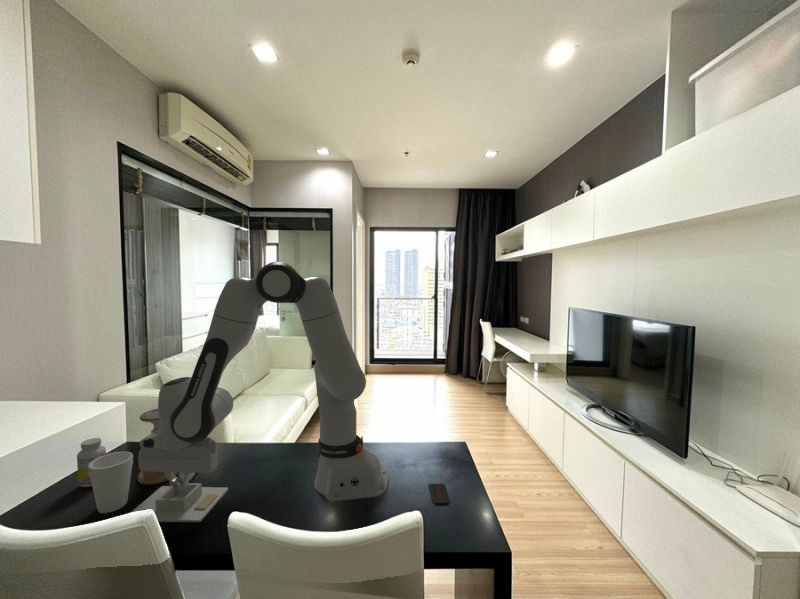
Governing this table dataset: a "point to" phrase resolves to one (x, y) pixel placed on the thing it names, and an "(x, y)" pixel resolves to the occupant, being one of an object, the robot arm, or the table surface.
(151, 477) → the candle holder
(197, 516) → the board
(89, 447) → the supplement bottle
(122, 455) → the foam cup
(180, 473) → the white capsule
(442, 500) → the dark rectangular block
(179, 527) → the table surface
